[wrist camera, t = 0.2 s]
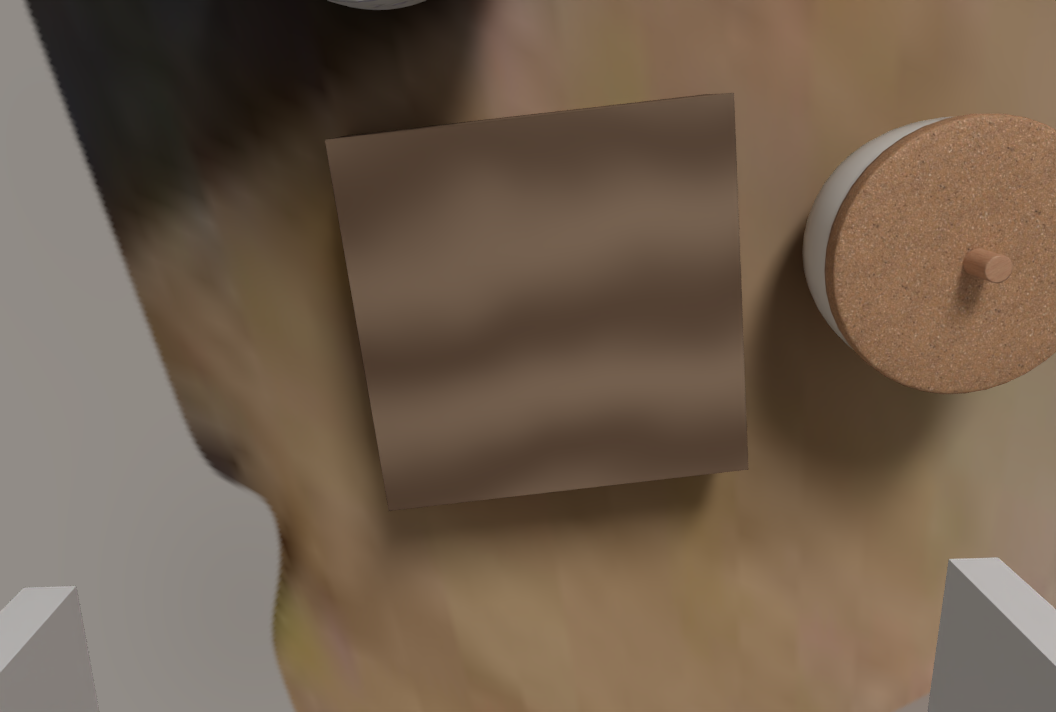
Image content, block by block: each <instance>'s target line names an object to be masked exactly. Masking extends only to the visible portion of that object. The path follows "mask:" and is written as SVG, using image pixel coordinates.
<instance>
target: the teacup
mask: <svg viewBox="0 0 1056 712" xmlns="http://www.w3.org/2000/svg"><path fill="white" fill-rule="evenodd" d="M328 1H331V2H334V3H337V4H341V5H345V6H348V7H353V8H359V9H368V10H390V9H396V8H402V7H407V6H412V5H415V4H418V3H421V2H423V1H426V0H328Z"/></svg>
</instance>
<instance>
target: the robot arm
mask: <svg viewBox="0 0 1056 712" xmlns="http://www.w3.org/2000/svg"><path fill="white" fill-rule="evenodd" d="M0 712H99V707H98V701H97V696H96V690H95V685H94V680H93V674H92V669H91V664H90V658H89V652H88V647H87V641H86V637H85V631H84V625H83V620H82V615H81V610H80V604H79V598H78V593H77V587H76V586H58V587H29V588H28V587H25V588H23V589H22V590H21V591H20V592H19V593H18V594H17V595H16V596H15V597H14V598H13V599H12V600H11V601H10V602H9V603H8V604H7V605H6V606H5V607H4V608H3V609H2V610H1V611H0ZM928 712H1056V609H1055V608H1054V607H1053V606H1051V605H1050V604H1049V603H1048V602H1047V601H1046V600H1045V599H1044V598H1043V597H1041V596H1040V595H1039V594H1038V593H1037V592H1036V591H1035V590H1034V589H1033V588H1031V587H1030V586H1029V585H1028V584H1027V583H1026V582H1025V581H1024V580H1023V579H1021V578H1020V577H1019V576H1018V575H1017V574H1016V573H1015V572H1014V571H1013V570H1011V569H1010V568H1009V567H1008V566H1007V565H1006V564H1005V563H1004V562H1002V561H1001V560H1000V559H999V558H969V559H949V562H948V569H947V576H946V583H945V590H944V597H943V604H942V612H941V619H940V626H939V633H938V640H937V647H936V655H935V662H934V669H933V676H932V683H931V690H930V698H929V705H928Z"/></svg>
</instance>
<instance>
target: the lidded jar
mask: <svg viewBox="0 0 1056 712" xmlns="http://www.w3.org/2000/svg"><path fill="white" fill-rule="evenodd" d="M802 253H803V265H804V272H805V276H806V280H807V284H808V287H809V290H810V292H811V294H812V297H813V299H814V301H815V303H816V306H817V308H818V310H819V311H820V313H821V314H822V316H823V317H824V319H825V320H826V322H827V323H828V324H829V326H830V327H831V328H832V329H833V331H834V332H835V333H836V334H837V335H838V336H839V337H840V338H841V339H842V340H843V341H844V342H845V343H846V344H847V345H848V346H849V347H851V348H852V349H853V350H854V351H855V352H856V353H857V354H858V355H859V356H860V357H861V358H862V359H863V360H864V361H865V362H866V363H868V364H869V365H870V366H872V367H873V368H875V369H876V370H877V371H879V372H880V373H881V374H883V375H884V376H886V377H888V378H890V379H892V380H894V381H896V382H898V383H900V384H902V385H904V386H907V387H911V388H914V389H917V390H921V391H925V392H933V393H940V394H958V393H969V392H975V391H981V390H986V389H989V388H992V387H995V386H998V385H1001V384H1004V383H1007V382H1009V381H1011V380H1013V379H1015V378H1017V377H1019V376H1021V375H1024V374H1026V373H1027V372H1029V371H1030V370H1032V369H1033V368H1035V367H1036V366H1038V365H1039V364H1041V363H1042V362H1044V361H1045V360H1047V359H1048V358H1049V357H1050V356H1051V355H1052V354H1054V353H1055V352H1056V130H1054V129H1053V128H1051V127H1049V126H1047V125H1046V124H1043V123H1040V122H1037V121H1034V120H1031V119H1028V118H1025V117H1020V116H1013V115H1007V114H969V115H963V116H957V117H941V118H936V119H930V120H925V121H920V122H915V123H911V124H908V125H905V126H902V127H899V128H896V129H893V130H891V131H889V132H887V133H885V134H883V135H881V136H879V137H877V138H875V139H873V140H871V141H869V142H867V143H866V144H864V145H863V146H861V147H860V148H859V149H857V150H856V151H854V152H853V153H852V154H850V155H849V156H848V157H847V158H846V159H845V160H844V161H843V162H842V163H841V164H840V165H839V166H838V167H837V168H836V169H835V170H834V172H833V173H832V174H831V175H830V177H829V178H828V179H827V181H826V182H825V183H824V185H823V187H822V188H821V190H820V192H819V193H818V195H817V197H816V199H815V201H814V203H813V206H812V208H811V211H810V213H809V216H808V219H807V224H806V228H805V232H804V240H803V252H802Z"/></svg>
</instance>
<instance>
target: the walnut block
mask: <svg viewBox="0 0 1056 712" xmlns="http://www.w3.org/2000/svg"><path fill="white" fill-rule="evenodd" d="M325 144H326V150H327V156H328V161H329V167H330V173H331V179H332V185H333V190H334V196H335V202H336V208H337V214H338V219H339V225H340V231H341V237H342V242H343V248H344V254H345V260H346V266H347V271H348V277H349V283H350V289H351V295H352V300H353V306H354V312H355V318H356V323H357V329H358V335H359V341H360V347H361V352H362V358H363V364H364V370H365V376H366V381H367V387H368V393H369V399H370V404H371V410H372V416H373V422H374V428H375V433H376V439H377V445H378V451H379V457H380V462H381V468H382V474H383V480H384V485H385V491H386V497H387V503H388V509H389V511H392V510H401V509H409V508H418V507H427V506H435V505H444V504H453V503H461V502H470V501H479V500H487V499H496V498H505V497H513V496H522V495H531V494H540V493H548V492H557V491H566V490H574V489H583V488H592V487H600V486H609V485H618V484H626V483H635V482H644V481H652V480H661V479H670V478H679V477H687V476H696V475H705V474H713V473H722V472H731V471H739V470H748V448H747V422H746V395H745V369H744V343H743V317H742V291H741V265H740V239H739V213H738V187H737V161H736V135H735V109H734V93H727V94H705V95H697V96H688V97H679V98H671V99H662V100H653V101H644V102H636V103H627V104H618V105H609V106H601V107H592V108H583V109H574V110H566V111H557V112H548V113H539V114H531V115H522V116H513V117H505V118H496V119H487V120H478V121H470V122H461V123H452V124H443V125H435V126H426V127H417V128H408V129H400V130H391V131H382V132H373V133H365V134H356V135H347V136H341V137H337V138H332V139H327V140H325Z"/></svg>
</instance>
